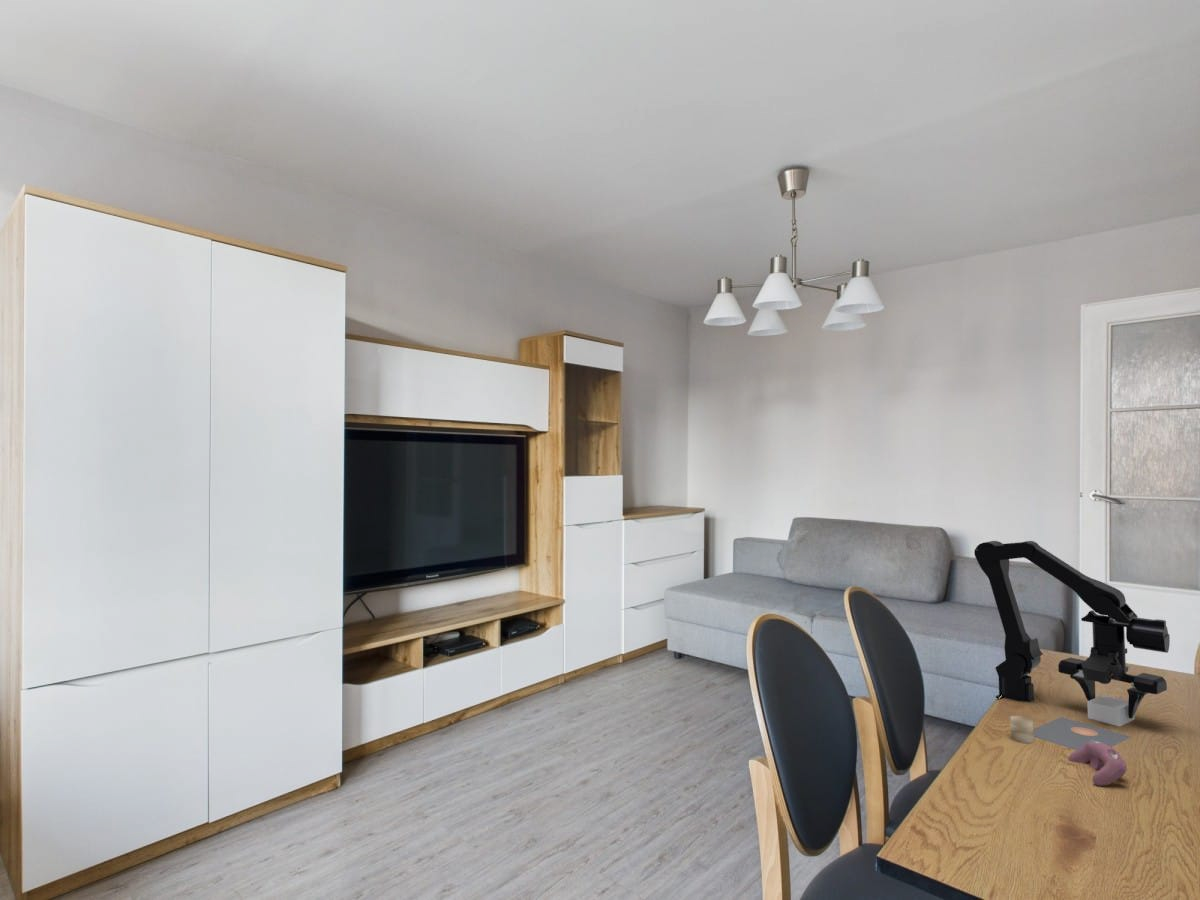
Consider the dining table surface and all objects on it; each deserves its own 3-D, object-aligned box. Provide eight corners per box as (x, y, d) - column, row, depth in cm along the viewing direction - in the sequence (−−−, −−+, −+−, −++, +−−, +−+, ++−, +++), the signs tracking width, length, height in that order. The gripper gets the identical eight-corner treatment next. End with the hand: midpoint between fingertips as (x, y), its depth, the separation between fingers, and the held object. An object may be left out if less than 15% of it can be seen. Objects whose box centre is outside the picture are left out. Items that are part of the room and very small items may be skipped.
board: (1023, 737, 138) (1023, 733, 138) (1061, 720, 147) (1061, 716, 147) (1094, 759, 127) (1094, 755, 127) (1131, 740, 136) (1130, 736, 136)
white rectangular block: (1088, 723, 146) (1087, 701, 147) (1103, 716, 151) (1102, 694, 151) (1120, 732, 141) (1119, 709, 142) (1135, 724, 146) (1134, 702, 146)
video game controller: (1118, 797, 116) (1137, 763, 115) (1092, 784, 116) (1111, 750, 116) (1087, 772, 125) (1104, 740, 125) (1064, 760, 126) (1080, 728, 126)
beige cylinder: (1007, 742, 136) (1006, 718, 136) (1017, 738, 138) (1016, 714, 138) (1028, 749, 132) (1027, 724, 133) (1037, 744, 134) (1036, 720, 135)
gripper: (1045, 639, 150) (1048, 707, 150) (1145, 659, 134) (1148, 735, 134) (1068, 633, 156) (1070, 698, 156) (1166, 651, 140) (1169, 723, 140)
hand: (1111, 713), depth 146 cm, fingers open, 7 cm apart
